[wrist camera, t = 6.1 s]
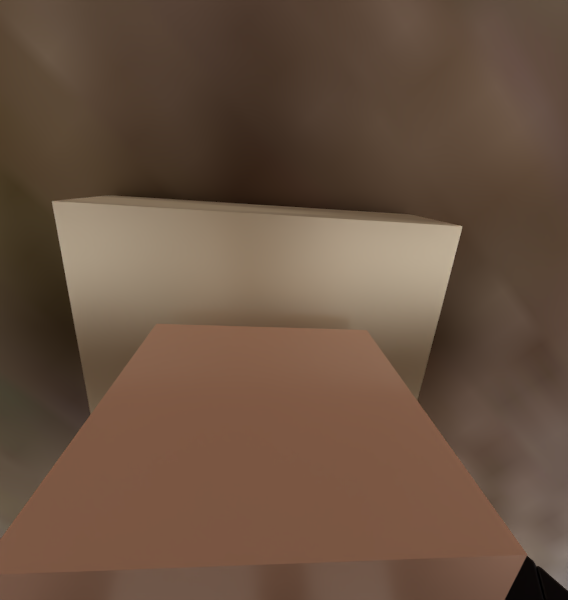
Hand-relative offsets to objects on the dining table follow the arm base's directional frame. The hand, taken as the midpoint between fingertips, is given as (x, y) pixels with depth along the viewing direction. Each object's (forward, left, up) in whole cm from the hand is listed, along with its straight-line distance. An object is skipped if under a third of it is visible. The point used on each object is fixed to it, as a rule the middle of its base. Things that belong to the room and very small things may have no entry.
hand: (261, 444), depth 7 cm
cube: (0, 0, -1) cm, 1 cm away
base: (0, 0, -5) cm, 5 cm away
